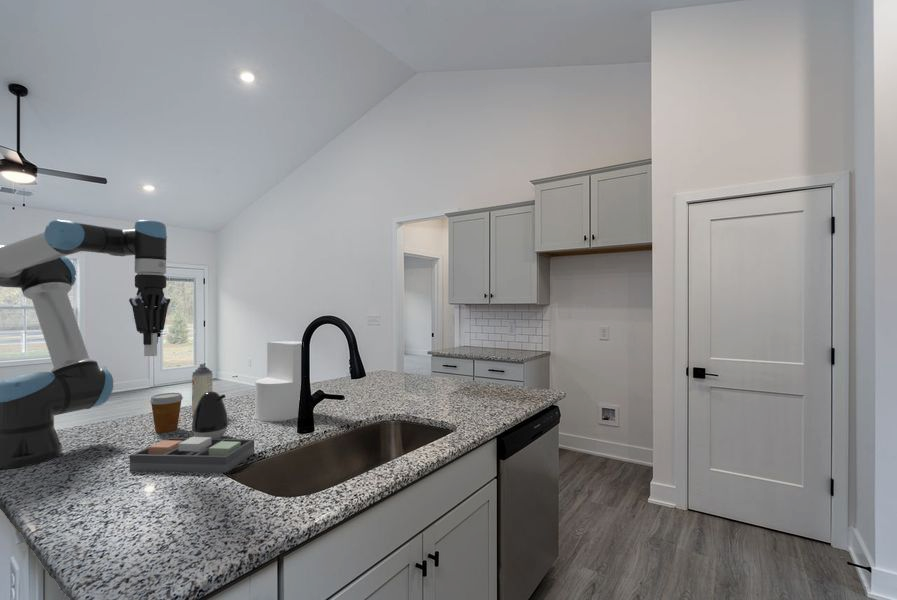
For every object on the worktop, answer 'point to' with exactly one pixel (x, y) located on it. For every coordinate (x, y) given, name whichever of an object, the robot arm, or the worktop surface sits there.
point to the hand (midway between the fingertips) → (150, 355)
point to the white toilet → (279, 383)
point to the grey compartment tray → (192, 458)
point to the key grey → (194, 444)
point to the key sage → (223, 448)
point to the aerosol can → (200, 384)
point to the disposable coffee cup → (166, 411)
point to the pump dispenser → (210, 416)
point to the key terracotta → (163, 447)
